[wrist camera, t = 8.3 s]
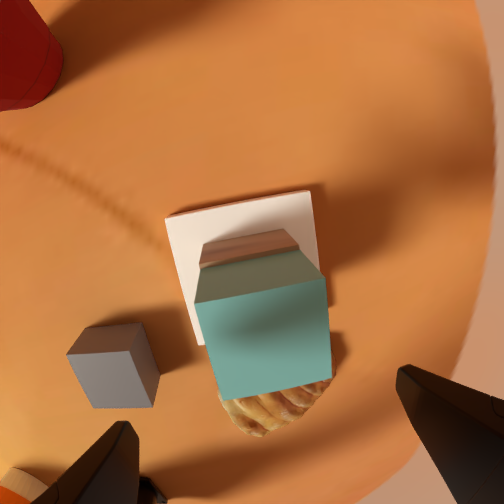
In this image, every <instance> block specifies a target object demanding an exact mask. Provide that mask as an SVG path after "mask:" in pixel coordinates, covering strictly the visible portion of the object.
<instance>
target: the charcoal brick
mask: <svg viewBox="0 0 504 504" xmlns="http://www.w3.org/2000/svg"><path fill="white" fill-rule="evenodd" d="M66 356H67V358H68V360H69V362H70V364H71V366H72V368H73V370H74V373H75V375H76V377H77V379H78V380H79V382H80V384H81V386H82V388H83V390H84V392H85V394H86V396H87V398H88V399H89V401H90V403H91V405H92V407H93V408H150V407H153V405H154V400H155V396H156V392H157V387H158V383H159V379H160V373H159V370H158V367H157V365H156V362H155V359H154V356H153V353H152V351H151V348H150V345H149V342H148V339H147V336H146V333H145V330H144V327H143V324H142V322H138V323H130V324H121V325H112V326H102V327H92V328H85V329H84V330H83V332H82V333H81V335H80V336H79V337H78V339H77V340H76V341H75V343H74V344H73V346H72V347H71V348H70V350H69V351H68V353H67V354H66Z"/></svg>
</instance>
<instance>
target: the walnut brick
mask: <svg viewBox="0 0 504 504" xmlns="http://www.w3.org/2000/svg"><path fill="white" fill-rule="evenodd" d="M296 250H300V248H299V244H298V243H297V242H296V241H295V240H294V239H293V238H292V237H291V236H290V235H289V234H288V233H287V232H286V231H285V230H284V229H278V230H273V231H267V232H262V233H257V234H252V235H247V236H241V237H236V238H231V239H226V240H221V241H216V242H211V243H206V244H203V247H202V252H201V256H200V261H199V268H200V269H204V268H209V267H214V266H219V265H224V264H230V263H235V262H240V261H245V260H250V259H255V258H260V257H266V256H271V255H276V254H281V253H286V252H291V251H296Z"/></svg>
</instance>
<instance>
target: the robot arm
mask: <svg viewBox="0 0 504 504" xmlns="http://www.w3.org/2000/svg"><path fill="white" fill-rule="evenodd" d="M396 391H397V393H398V396H399V398H400V400H401V402H402V404H403V406H404V409H405V411H406V413H407V415H408V418H409V420H410V422H411V424H412V426H413V428H414V430H415V431H416V433H417V435H418V436H419V438H420V440H421V441H422V443H423V444H424V446H425V448H426V450H427V451H428V453H429V455H430V456H431V458H432V460H433V462H434V463H435V465H436V467H437V468H438V470H439V472H440V474H441V475H442V477H443V479H444V481H445V482H446V484H447V486H448V488H449V490H450V491H451V493H452V495H453V497H454V499H455V500H456V502H457V504H504V400H502V399H499V398H496V397H494V396H491V397H490V395H488V394H485V393H483V392H480V391H477V390H475V389H472V388H469V387H467V386H464V385H461V384H459V383H456V382H454V381H451V380H448V379H446V378H443V377H441V376H438V375H436V374H433V373H431V372H428V371H426V370H423V369H421V368H418V367H416V366H413V365H411V364H407V365H404V366H402V367H400V368H398V371H397V378H396ZM167 501H168V500H167V499H166V498H165V497H164V495H163V494H162V493H161V492H160V491H159V490H158V488H157V487H156V486H155V485H154V484H153V482H152V481H151V480H150V479H149V478H139V437H138V435H137V434H136V432H135V430H134V429H133V427H132V425H131V424H130V422H128V421H117V422H115V423H114V424H113V425H112V426H111V427H110V428H109V429H108V430H107V431H106V432H105V433H104V434H103V435H102V436H101V437H100V438H99V439H98V440H97V441H96V442H95V443H94V444H93V445H92V446H91V447H90V448H89V449H88V450H87V451H86V452H85V453H84V454H83V455H82V456H81V457H80V458H79V459H78V460H77V461H76V462H75V463H74V464H73V465H72V466H71V467H70V468H69V469H68V470H66V471H65V472H64V473H63V474H62V475H61V476H60V477H59V478H58V479H57V481H55V482H54V483H53V484H52V485H51V486H50V487H49V488H48V489H46V490H45V491H44V492H43V493H42V494H41V495H40V496H38V497H37V498H36V499H35V500H33V501H32V502H31V503H30V504H167Z"/></svg>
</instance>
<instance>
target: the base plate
mask: <svg viewBox="0 0 504 504" xmlns="http://www.w3.org/2000/svg"><path fill="white" fill-rule="evenodd" d="M165 223H166V227H167V232H168V236H169V240H170V244H171V248H172V252H173V256H174V260H175V264H176V268H177V272H178V276H179V280H180V283H181V287H182V291H183V294H184V298H185V301H186V305H187V309H188V312H189V316H190V319H191V322H192V326H193V329H194V332H195V336H196V339H197V342H198V345H204V344H205V342H204V338H203V335H202V331H201V328H200V324H199V321H198V317H197V314H196V310H195V306H194V300H195V295H196V289H197V284H198V279H199V274H200V268H199V261H200V256H201V252H202V247H203V244H206V243H211V242H216V241H221V240H226V239H231V238H236V237H241V236H247V235H252V234H257V233H262V232H267V231H273V230H278V229H284V230H285V231H286V232H287V233H288V234H289V235H290V236H291V237H292V238H293V239H294V240H295V241H296V242H297V243H298V244H299V248H300V250H301V251H302V252H303V253H304V255H305V256H306V257H307V258H308V259H309V260H310V261H311V262H312V263H313V264H314V266H315V267H316V268H317V269H318V270H319V271H320V266H319V257H318V248H317V240H316V232H315V224H314V216H313V209H312V201H311V194H310V191H308V190H300V191H294V192H288V193H282V194H276V195H270V196H265V197H259V198H254V199H248V200H243V201H238V202H232V203H227V204H222V205H217V206H212V207H207V208H202V209H197V210H193V211H188V212H183V213H178V214H174V215H169V216H167V217H166V218H165Z"/></svg>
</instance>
